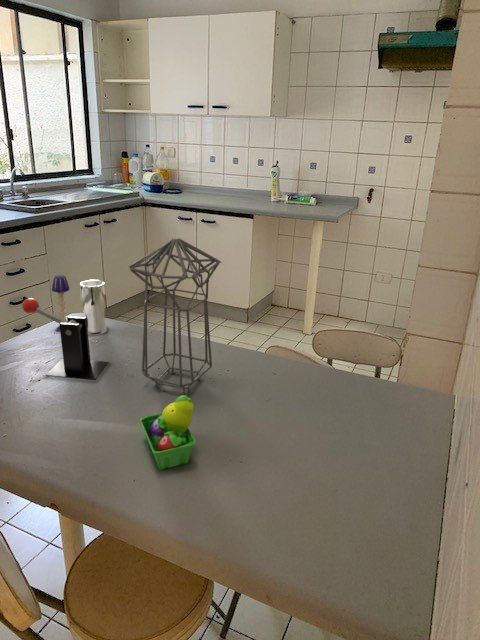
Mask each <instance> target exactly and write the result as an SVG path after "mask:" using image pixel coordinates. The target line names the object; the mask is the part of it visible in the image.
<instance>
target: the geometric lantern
mask: <svg viewBox="0 0 480 640" xmlns="http://www.w3.org/2000/svg"><path fill="white" fill-rule="evenodd" d="M174 248H175V250H176V253H177V255H176V254H174V253H173V251H174ZM192 251H194V252H195V253H197V254H199V255H201V256H203V257H205V258H198V257H197V256H196V255H195V253H193V252H192ZM182 253H183V255H184V256H185V257H183V255H182ZM166 256H167V258H166V261H165V264H164V267H163V270H162V273H161V274H160V273H156V271H157V269H158V267H159V266H160V265H161V263H162V262H163V260H164V258H165V257H166ZM191 258H192V259H191ZM177 259H178V260H177ZM170 260H171V261H173V262H174V263H175V264H177V265H178V266H179V267H180V268H181V271H182V274H181V275H166V272H167V269H168V266H169V263H170ZM185 261H186V262H187V263H188V264H187V267H186V265H185ZM203 262H204V263H205V262H208V263H207V264H206V265H204V264H202V263H203ZM195 263H197V264H198V267H197V266H196V265H195ZM221 263H222V261H221V260H219V259H218V258H217V257H214V256H212V255H210V254H209V253H206V252H205V251H203V250H202V249H200V248H198V247H196V246H195V245H193V244H190V243H188V242H187V241H185V240H183V239H182V238H171V239H170V240H169V241H167V242H165V243H163V245H161V246H159V247H158V248H157V249H155V250H153V251H151V252H149V253H148V254H146V255H144V256H143V257H141V258H140V259H138V260H136V261H135V262H133V263H131V264H130V265H129V266H128V267H127V268H128V270H129V271H130V272H131V273H132V274H133V275H135V276H136V277H137V278H139V280H141V281H142V282H143V283H144V284H145V286H144V303H143V308H144V310H143V330H142V331H143V334H142V335H143V336H142V355H141V356H142V357H141V358H142V359H141V374H142V376H144V378H146V379H149V380H150V381H152V382H154V383H155V387H157V388H158V389H160V385H161V386H167V387H171V388H175V389H181V390H182V391H183V392H182V394H183V395H185V396H190V395H191V393H192V392H193V391H194V389H192V390H191V391H190V387H192V386H193V385H194V384H195V383H196V382H197V381H198V382H200V381H201V378H202V377H203V376H204V375H205V374H206V373H207V372H208V371H209V370H211V369H212V368H213V360H212V348H211V335H210V334H211V333H210V320H209V309H208V308H209V306H208V299H209V283H210V279H211V277H212V276H213V274H214V273H215V271H216V269H217V268H218V266H219V265H220V264H221ZM151 266H152V268H151V269H152V270H151V271H148V269H147V267H151ZM141 267H144V269H139V268H141ZM208 267H209V268H208ZM190 269H191V270H190ZM188 273H190V274H192V275H191V276H188V275H189V274H188ZM204 273H206V274H207V277H206V278H205V280H204V281H203V274H204ZM144 277H145V278H144ZM152 277H156V279H157V280H158V281H159V283H160V284H161V285H154V284H153V278H152ZM148 279H149V280H148ZM164 279H176V280H174V281H171V282H170V283H168V284H164V283H165V282H164ZM187 279H189V280H190V279H192V281H193V282H194V283H195V286H196V289H195V291H189V290H185V289H178V286H179V285H180V283H181V282H182V281H185V280H187ZM173 285H174V287H173V288H169V287H172V286H173ZM204 285H205V291H204V288H203V287H204ZM148 287H149V288H150V291H149V293H148V289H149V288H148ZM199 288H200V290H201V292H198V290H199ZM155 289H156V290H160V291H159V292H157V293H155V294H153V295H151V294H152V292H153V291H154V290H155ZM171 292H172V293H171ZM176 292H181V293H187V294H193V295H192V297H191V298H190V301H189V302H188V304H187V306H186V307H185V308H182V307H180V305H179V303H178V302H177V301H176ZM162 293H164V305H161V304H156V303H151V302H148V301H149V300H151V299H153V298H155V297H157V296H159V295H160V294H162ZM196 295H199V296H203V299H202V300H201V301H199V302H197V303H196V304H194V305H193V306H191V307H190V305H191V303H192V302H193V299H194V298H195V296H196ZM168 296H169V297H170V299H171V301H172V307H171V306H168ZM202 303H203V310H204V311H203V312H204V313H203V314H204V316H203V317H204V318H203V319H204V355H205V356H204V358H205V359H204V358H201V357H196V356H195V357H194V356H193V353H192V352H193V351H192V339H191V338H192V337H191V336H192V335H191V322H190V311H191V310H193V309H194V308H196V307H198V306H199V305H201V304H202ZM148 306H153V307H158V308H163V309H164V311H163V313H164V314H163V315H164V316H163V344H162V355H161V356H159V357H158V358H157V359H155V360H154V361H153V362H152V363H150V364H149V365H148ZM167 309H169V310H172V338H173V339H172V342H173V344H172V345H173V349H172V350H173V352H169V353H166V344H167V341H166V340H167V313H168V312H167V311H168V310H167ZM176 311H177V334H178V335H177V336H178V340H177V339H176V337H177V336H176ZM181 312H186V327H187V339H188V340H187V342H188V352H189V353H188V355H185V354H182V327H181V326H182V325H181ZM176 340H177V341H178V353H177V351H176V349H177V346H176ZM169 356H173V357H172V364H171V366H170V365H169V362H168V359H167V357H169ZM176 356H177V357H178V367H175V359H176ZM163 358H164V361H165V364H166V367H167V369H166V370H165V371H164V372H163V373H162V374H161V375H160V376H159V377H155V376H152V375H150V374H149V373H148V370H149V369H151V368H152V367H153V366H154V365H156V364H157V363H158V362H160V361H161V360H162V359H163ZM182 358H186V359H189V369H186V368H185V369H184V368H183V366H182V365H183V364H182ZM193 360H195V361H199V362H203V364H202V365H201V367H200V368H199V369H198V371H196V370H194V368H193V367H194V365H193ZM206 364H207V365H208V367H207V368H205V369H204V370H203V368H204V366H205V365H206ZM170 370H171V374H170ZM175 370H176V371H178V372H179V373H174V371H175ZM202 370H203V371H202ZM183 372H188V373H190V376H186V375H183ZM166 373H167V374H170V375H171V376H173V375H175V376H179V383H178V382H177V383H176V382H173V381H170V380H166V379H163V378H162V377H163V376H164V375H165V374H166ZM194 373H195V374H196V377H194ZM183 377H185V378H190V380H191V381H190V382H186V383H183ZM186 390H187V394H186ZM162 392H164V393H169V394H173V395H178V396H182V394H180V393H176V392H172V391H169V390H163V391H162Z"/></svg>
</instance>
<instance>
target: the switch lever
mask: <svg viewBox="0 0 480 640" xmlns="http://www.w3.org/2000/svg"><path fill="white" fill-rule="evenodd" d="M21 309H22V310H23V311H24V312H25V313H26V314H29V315H31V314H35V313H37V314H39V315H41V316H43V317H44V318H47V319H49V320H51V321H53V322H55V323H57V324H58V325H59V324H60V323H61V322H62V323H75V324H80V331H81V328H82V326H83V324H81V323H79V322H77V321H75V320H73V319H72V320H71V321H69V322H68V321H67V319H66V320H64V319H62V318H60V316H58V315H56V314H54V313H52V312H50V311H48V310H46V309H44V308H42V307H40V304H39V301H37V299H35V298H34V297H33V298H32V297H28V298H25V299H24V300H23V301H22V303H21Z"/></svg>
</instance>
